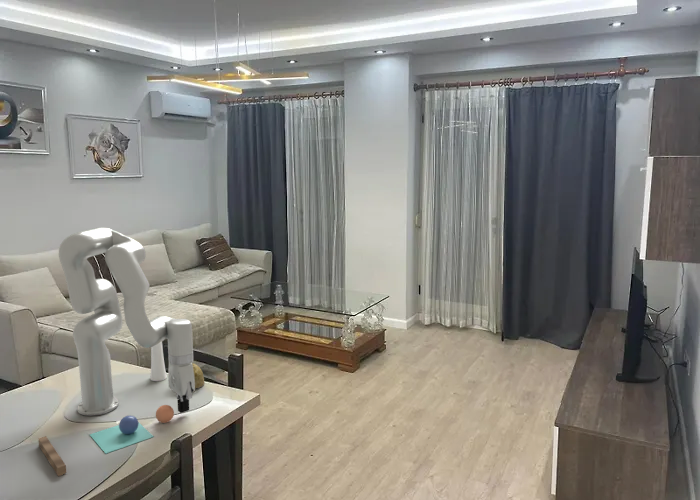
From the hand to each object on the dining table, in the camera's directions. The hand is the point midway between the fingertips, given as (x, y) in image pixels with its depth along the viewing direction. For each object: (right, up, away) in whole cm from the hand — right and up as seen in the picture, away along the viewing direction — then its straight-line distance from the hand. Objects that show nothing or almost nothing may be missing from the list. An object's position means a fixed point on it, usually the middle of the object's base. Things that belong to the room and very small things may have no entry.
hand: (183, 410), depth 176 cm
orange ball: (-4, 0, -5) cm, 7 cm away
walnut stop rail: (-29, -6, -26) cm, 39 cm away
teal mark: (-15, -4, -13) cm, 20 cm away
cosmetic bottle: (-19, +4, +29) cm, 35 cm away
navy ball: (-13, -1, -12) cm, 18 cm away
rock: (-5, +2, +23) cm, 23 cm away
